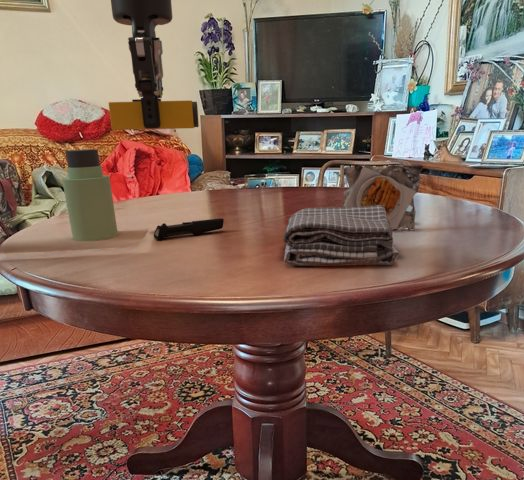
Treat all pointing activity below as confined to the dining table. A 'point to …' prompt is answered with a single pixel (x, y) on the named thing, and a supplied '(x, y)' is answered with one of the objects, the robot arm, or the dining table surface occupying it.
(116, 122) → the bar
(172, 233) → the electric trimmer
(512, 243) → the dining table surface
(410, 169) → the meal
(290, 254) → the towel
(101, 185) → the bottle
